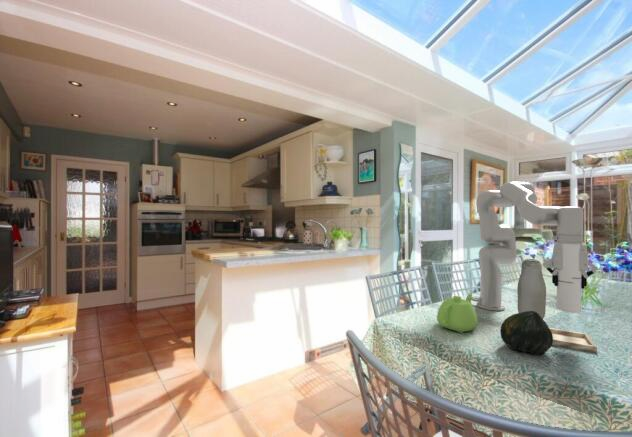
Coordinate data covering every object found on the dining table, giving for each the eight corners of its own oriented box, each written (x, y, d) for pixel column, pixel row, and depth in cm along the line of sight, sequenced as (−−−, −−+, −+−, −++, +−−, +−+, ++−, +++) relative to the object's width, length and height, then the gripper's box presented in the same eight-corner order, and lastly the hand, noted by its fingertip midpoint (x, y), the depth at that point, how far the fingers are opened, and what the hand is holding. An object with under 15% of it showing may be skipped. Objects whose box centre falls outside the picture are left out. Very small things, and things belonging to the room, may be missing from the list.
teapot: (455, 317, 143) (455, 289, 142) (489, 327, 130) (489, 296, 130) (427, 327, 130) (427, 296, 129) (461, 339, 117) (462, 304, 117)
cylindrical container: (585, 313, 112) (587, 244, 111) (563, 312, 113) (564, 244, 113) (573, 307, 119) (574, 242, 118) (552, 306, 120) (553, 242, 120)
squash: (490, 323, 119) (505, 301, 109) (532, 326, 118) (551, 305, 108) (503, 360, 109) (520, 340, 99) (548, 364, 107) (571, 344, 97)
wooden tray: (546, 343, 114) (546, 338, 114) (542, 331, 126) (542, 326, 126) (597, 352, 107) (597, 347, 107) (587, 339, 119) (587, 333, 119)
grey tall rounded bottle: (530, 317, 144) (531, 257, 143) (550, 325, 133) (552, 260, 133) (511, 318, 142) (513, 257, 141) (531, 326, 132) (532, 261, 131)
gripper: (542, 239, 117) (541, 285, 117) (603, 241, 108) (602, 292, 108) (540, 237, 123) (539, 282, 124) (597, 240, 114) (596, 287, 115)
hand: (568, 286), depth 116 cm, fingers closed on cylindrical container, 7 cm apart
